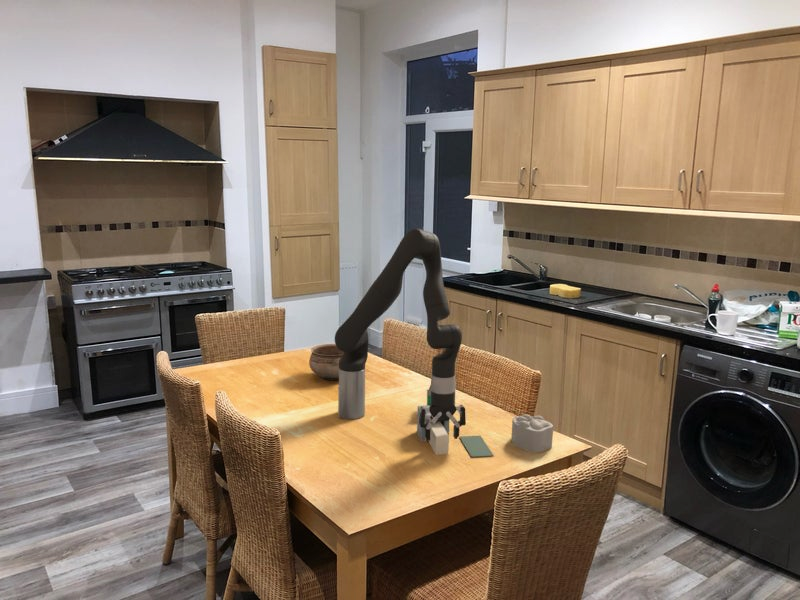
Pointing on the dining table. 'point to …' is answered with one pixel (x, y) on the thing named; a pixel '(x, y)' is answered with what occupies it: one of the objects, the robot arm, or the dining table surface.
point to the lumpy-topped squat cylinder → (532, 433)
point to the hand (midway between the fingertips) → (441, 438)
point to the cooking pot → (326, 361)
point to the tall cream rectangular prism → (439, 439)
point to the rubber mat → (476, 446)
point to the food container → (429, 396)
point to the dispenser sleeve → (422, 430)
